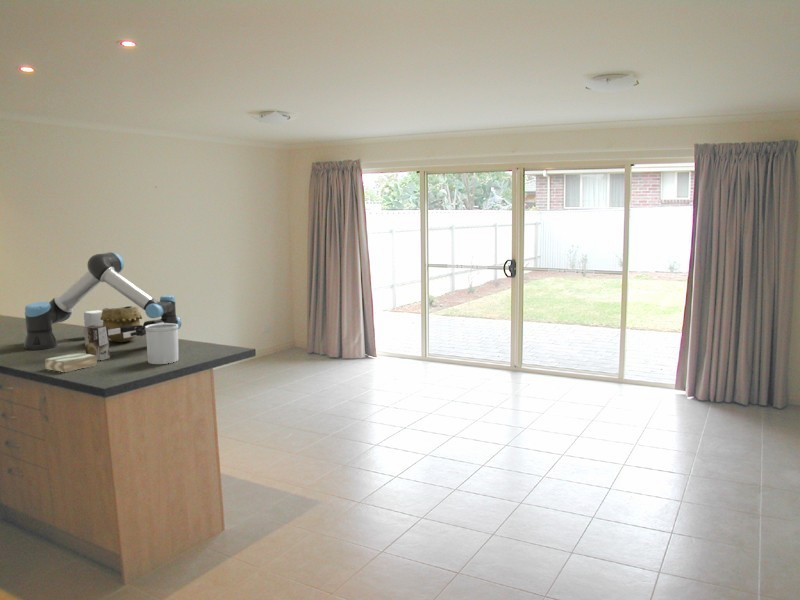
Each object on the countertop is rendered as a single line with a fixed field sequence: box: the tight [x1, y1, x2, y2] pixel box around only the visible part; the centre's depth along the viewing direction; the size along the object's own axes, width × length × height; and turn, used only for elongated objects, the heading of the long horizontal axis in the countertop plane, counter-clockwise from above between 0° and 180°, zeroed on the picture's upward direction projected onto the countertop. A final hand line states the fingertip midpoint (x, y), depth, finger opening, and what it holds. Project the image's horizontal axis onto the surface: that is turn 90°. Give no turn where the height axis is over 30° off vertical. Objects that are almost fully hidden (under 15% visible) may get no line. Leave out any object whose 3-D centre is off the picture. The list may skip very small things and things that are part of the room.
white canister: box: [83, 309, 103, 327], centre depth 349 cm, size 9×9×15 cm
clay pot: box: [100, 305, 143, 343], centre depth 337 cm, size 21×21×20 cm
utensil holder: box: [145, 323, 179, 365], centre depth 293 cm, size 15×15×18 cm
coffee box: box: [83, 325, 111, 361], centre depth 297 cm, size 9×6×16 cm
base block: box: [44, 351, 98, 372], centre depth 281 cm, size 14×16×5 cm
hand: (115, 334), depth 305 cm, fingers open, 13 cm apart
